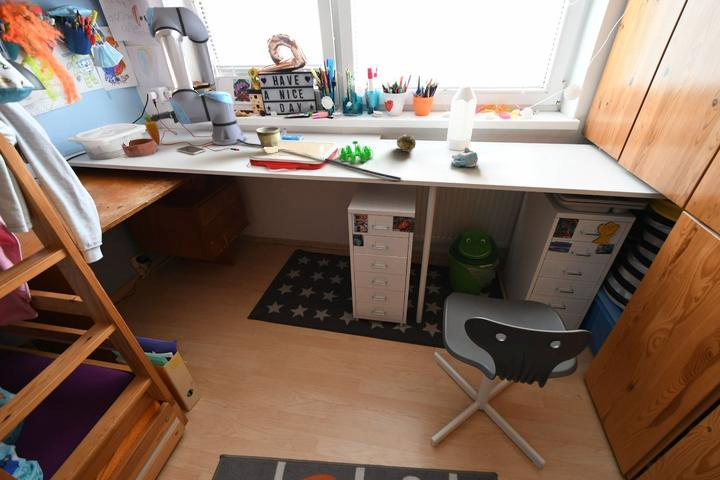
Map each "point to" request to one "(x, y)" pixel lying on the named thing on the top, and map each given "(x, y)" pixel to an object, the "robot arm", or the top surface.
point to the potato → (406, 142)
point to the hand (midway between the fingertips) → (161, 120)
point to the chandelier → (355, 153)
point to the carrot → (152, 129)
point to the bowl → (139, 147)
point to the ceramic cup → (268, 136)
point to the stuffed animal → (465, 158)
